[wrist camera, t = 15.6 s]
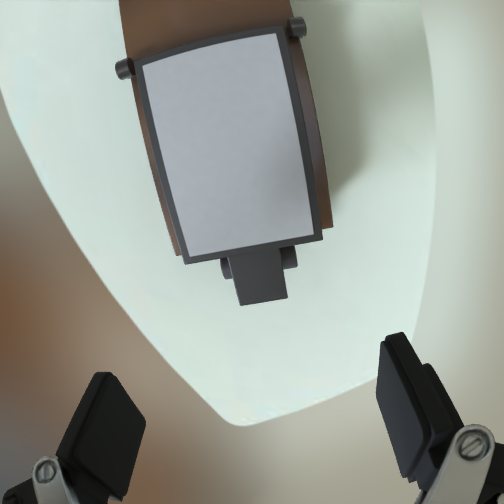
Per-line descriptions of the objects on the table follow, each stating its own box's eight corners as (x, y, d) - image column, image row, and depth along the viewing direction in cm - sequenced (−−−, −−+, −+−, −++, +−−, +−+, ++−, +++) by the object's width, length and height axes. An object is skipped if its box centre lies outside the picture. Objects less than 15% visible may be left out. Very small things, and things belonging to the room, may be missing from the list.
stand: (133, -33, 15) (101, -67, 9) (258, -64, 14) (258, -109, 8) (188, 231, 24) (166, 267, 18) (321, 206, 23) (343, 236, 17)
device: (200, 315, 19) (209, 282, 23) (329, 294, 18) (317, 263, 22) (132, 61, 13) (156, 72, 17) (283, 23, 12) (277, 44, 16)
